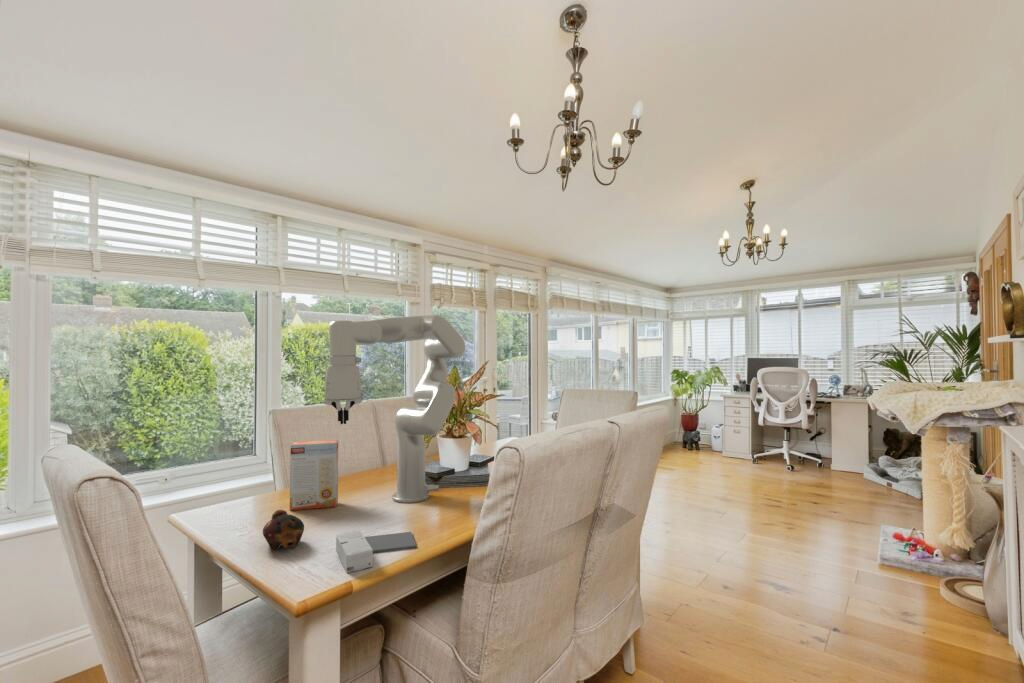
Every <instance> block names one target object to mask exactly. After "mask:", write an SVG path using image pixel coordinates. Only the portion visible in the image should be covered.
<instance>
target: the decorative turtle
mask: <svg viewBox="0 0 1024 683" xmlns="http://www.w3.org/2000/svg"><path fill="white" fill-rule="evenodd" d="M304 531H305V524H304V522H303V521H302V519H301V518H299V517H297V516H296V515H294V514H293V515H292V514H288V513H287V511H286V510H284V509H277V510H275V511H274V512H273V513H272V515H271V519H270V520H269V521H267V523H266V524H265V525H264V526H263V529H262V535H263V537H264V539H265V541H266V542H267V544H268V546H269V549H270V550H271V551H277V550H278V549H279V548H280V547H281V546H282V547H284V549H289V550H290V549H292V548H294V547H296V546H298V545H299V543H300V542H301V540H302V536H303V534H304Z"/></svg>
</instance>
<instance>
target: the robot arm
mask: <svg viewBox="0 0 1024 683" xmlns="http://www.w3.org/2000/svg"><path fill="white" fill-rule="evenodd" d="M328 327H329V332H328V334H329V336H328V337H329V339H328V340H329V366H327V367H326V369H325V377H324V379H325V380H324V401H323V404H324V405H326V406H332V407H334V409H335V410H336V411H337V422H340V425H347V421H349V416H350V415H349V410H350V409H351V408H352V407H354V405H356V404H360V403H362V402H363V399H362V397H361V396H362V383H361V382H362V381H361V380H362V379H361V372H360V367H359V366H358V365H357V364H358V363H361V362H362V358H361V357H358V356H357V346H370V345H371V346H372V345H375V344H377V343H384V344H393V343H406V342H412V341H413V342H414V341H421V340H422V341H423V340H425V342H424V344H423V350H424V355H425V359H426V366H425V370H424V372H423V374H422V376H421V377H420V379H419V381H418V383H417V385H416V387H415V389H414V390H413V394H412V401H413V403H414V404H415V405H404V406H403V407H400V408H399V409H398V411H397V412H396V414H395V417H394V425H395V431H396V436H397V461H396V462H397V464H396V466H397V474H396V476H397V478H396V479H397V480H396V491H395V492H394V493H393V494H392V496H391V498H392V501H395V502H398V503H402V504H403V503H405V504H407V503H408V504H411V503H412V504H413V503H418V502H423V501H426V500H428V499H429V498H430V492H438V491H440V487H439V486H440V485H438V484H437V485H435V484H427V483H426V450H427V449H426V442H425V439H424V436H426V437H432V436H433V437H434V436H435V435H437V434H438V433H439V432H440V431H441V429H442V428H443V426H444V425H445V423H446V420H447V419H448V417H449V415H450V413H451V411H452V408H453V407H454V404H455V402H456V390H455V387H454V385H452V384H451V383H450V382H447V379H448V377H449V370H448V367H447V364H446V360H445V359H458V358H461V357H462V356H463V355H464V353H465V351H466V343H465V340H464V338H463V337H462V336H461V334H460V333H459V332H458V331H457V329H455V327H454V326H453V325H452V324H451V323H450V322H449V321H448V320H447V319H446V318H445V317H443V316H442V315H438V314H431V315H414V316H413V315H412V316H399V317H397V316H396V317H388V318H387V317H386V318H381V319H374V320H373V319H371V320H356V321H354V320H353V321H352V320H333V321H331V322H330V323H329V326H328ZM341 401H345V405H344V406H345V407H344V408H342V404H341Z"/></svg>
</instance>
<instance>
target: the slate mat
mask: <svg viewBox="0 0 1024 683" xmlns="http://www.w3.org/2000/svg"><path fill="white" fill-rule="evenodd" d="M364 537H365V539H366V540H367V542H368V543H369V545H370V546H371V548H372V549H373V554H375V553H376V554H377V553H384V552H394V551H400V550H408V549H416V548H417V545H416V541H415V539H414V535H413V532H412V531H406V532H397V533H395V532H394V533H387V534H379V535H368V536H364Z"/></svg>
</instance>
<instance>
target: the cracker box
mask: <svg viewBox="0 0 1024 683" xmlns="http://www.w3.org/2000/svg"><path fill="white" fill-rule="evenodd" d="M289 461H290V462H289V463H290V464H289V511H299V510H312V509H325V508H326V509H327V508H336V507H337V505H338V502H339V500H338V499H339V440H338V439H335V440H310V441H294V442H293V443H291V444H290V460H289Z"/></svg>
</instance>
